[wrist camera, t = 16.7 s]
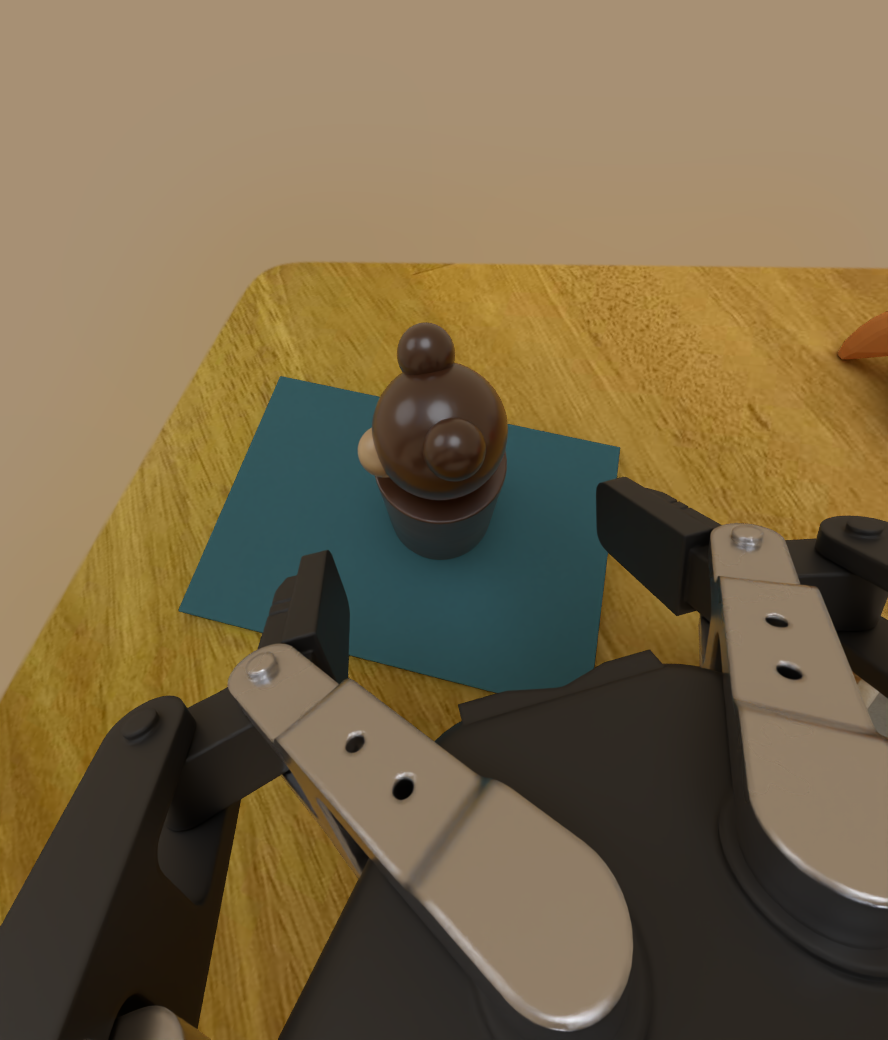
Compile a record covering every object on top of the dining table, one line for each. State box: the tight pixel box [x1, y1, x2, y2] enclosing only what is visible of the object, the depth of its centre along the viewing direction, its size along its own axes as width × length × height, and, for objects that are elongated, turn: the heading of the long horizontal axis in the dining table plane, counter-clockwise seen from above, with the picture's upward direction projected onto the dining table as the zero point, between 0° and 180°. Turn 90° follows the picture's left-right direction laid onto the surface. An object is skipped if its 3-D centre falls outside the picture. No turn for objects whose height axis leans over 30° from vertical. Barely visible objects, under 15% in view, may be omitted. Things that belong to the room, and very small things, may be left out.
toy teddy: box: [358, 323, 508, 560], centre depth 17 cm, size 6×5×11 cm
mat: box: [178, 376, 620, 693], centre depth 22 cm, size 20×14×1 cm
